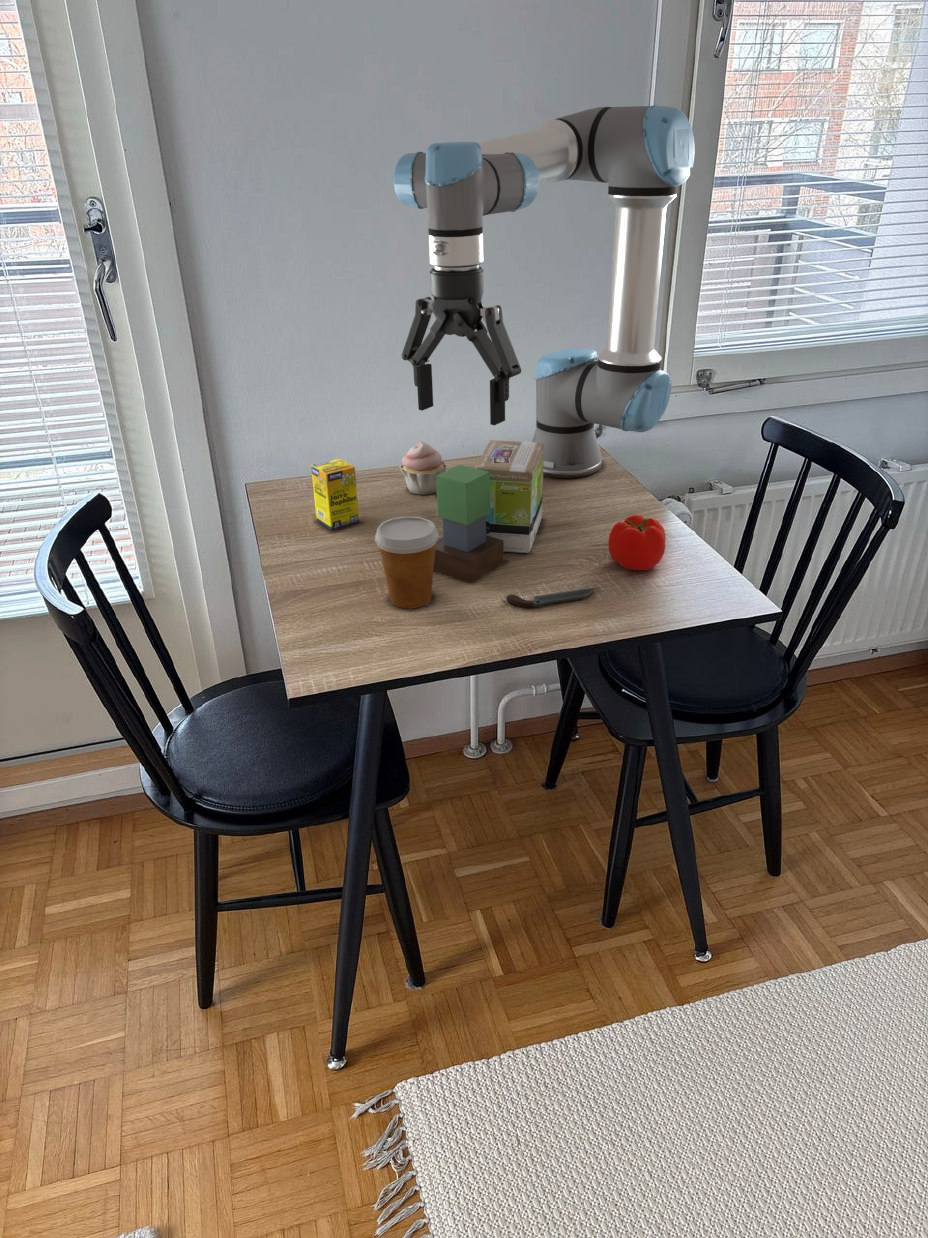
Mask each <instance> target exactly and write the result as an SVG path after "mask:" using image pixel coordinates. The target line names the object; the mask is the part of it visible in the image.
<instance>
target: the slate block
mask: <svg viewBox="0 0 928 1238" xmlns="http://www.w3.org/2000/svg"><path fill="white" fill-rule="evenodd" d="M441 520H442V538H443V541H444V545H445V546H448V547H452V548H455V549H458V550H462V551H465V552H470V551H471V550H473V549H475V548H476V547H478V546H480V545H481V544H483V543H485V542H486V515H485V516H483V517H482V518H480V519H478V520H476V521H475V522H473V523H471V524H469V525H465V524H461V523H458V522H454V521H450V520H447V519H443V518H441Z"/></svg>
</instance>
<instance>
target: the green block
mask: <svg viewBox="0 0 928 1238" xmlns="http://www.w3.org/2000/svg"><path fill="white" fill-rule="evenodd" d="M436 486H437V492H436V504H437V518H441V519H442V518H443V519H447V520H450V521H454V522H458V523H461V524H465V525H469V524H471V523H473V522H475V521H476V520H478V519H480V518H482V517H483V516H485V515H487V514H489V513H490V479H489V472H488V471H484V470H480V469H476V468H475V467H471V466H467V465H464V464H457V465H455V466H453V467H451V468H449V469H447V470H445V472H443V473H441V474H439V475H437V476H436ZM443 519H442V520H443Z"/></svg>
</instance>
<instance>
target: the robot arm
mask: <svg viewBox="0 0 928 1238" xmlns="http://www.w3.org/2000/svg"><path fill="white" fill-rule="evenodd" d="M695 148H696V147H695V137H694V131H693V128H692V125H691V123H690V121H689V119H688V117H687V115H686V113H684V112H683V110H681V109H679V108H677V107H674V106H667V105H666V106H665V105H658V104H653V105H638V106H637V105H635V106H634V105H633V106H598V107H593V108H588V109H585V110H582V111H577V112H574V113H571V114H567V115H564V116H561V117H557V118H554V119H553V118H552V119H549V120H546V121H544V122H543V123H541V124H540V125H539V126H538V127H537V128H536V129H533V130H530V131H529V130H528V131H525V132H519V133H515V134H511V135H507V136H502V137H497V138H493V139H489V140H484V141H478V142H476V141H449V142H447V141H446V142H434V143H432V144H430V145H428V147H427V148H426V151H425V152H423V151H416V152H408V153H406V154H403V155H402V156H401V157H400V158H398V160H397V162H396V164H395V165H394V169H393V175H392V181H393V190H394V193H395V195H396V197H397V199H398V200H399V201H400V203H402V204H403V205H404V206H407V207H412V208H417V209H419V210H424V209H427V210H426V211H427V224H428V226H427V227H428V229H427V230H428V232H427V233H428V252H429V253H428V254H429V255H428V257H429V264H430V265H431V266H433V267H432V268H431V270H430V271H429V281H430V283H429V284H430V294H431V296H432V297H433V299H432V298H431V297H430V296H426V297H422V298H418V299H416V300H415V303H414V304H415V307H414V317H413V320H412V322H411V325H410V328H409V332H408V335H407V338H406V340H405V343H404V346H403V348H402V352H401V359H402V360H403V361H408V362H409V363H410V364H411V365H412V369H413V384H414V387H417V404H418V405H417V406H418V407H417V408H418V411H421V412H422V411H425V410H427V409H429V408H432V407H434V393H433V392H434V389H433V387H434V385H433V365H432V363H429V362H430V360H429V359H430V358H431V356H432V355H433V353H434V352H435V350H436V348H437V347H438V346H439V344H440V343H441V341H442V340H443V338H444V337H445V335H447V336H452V335H454V336H457V337H461V338H464V337H466V339H467V340H468V341H469V342H470V343H472V345H473V346H474V348H475V349H476V351H477V352H478V354H479V356H480V357H481V359H482V360H483V362H484V364H485V365H486V367H487V368H488V370H489V371H490V373H491V375H492V376H493V378H492V379H490V380H489V419H490V422H489V423H490V425H491V426H496V425H499V424H501V423H503V422H505V421H506V402H507V401H509V399H510V378H513V377H515V376H518V375H520V374H521V373H522V367H521V364H520V362H519V359H518V357H517V354H516V352H515V349H514V346H513V344H512V342H511V339H510V335H509V334H508V333H509V332H508V330H507V328H506V326H505V323H504V317H503V308H502V306H501V305H500V304H496V305H493V306H484V305H483V295H484V292H485V283H484V282H485V280H484V279H485V278H484V276H485V275H484V273H485V272H484V268H483V267H482V266H480V265H482V264H483V262H484V261H485V259H484V232H483V231H484V229H483V228H484V227H483V226H484V224H483V218H484V216H490V215H495V214H503V213H515V212H516V211H519V210H522V209H525V208H528V207H529V206H530V205H531V204H532V203H534V201H535V199H536V198H537V196H538V193H539V190H540V183H541V182H540V181H541V180H546V181H548V182H552V183H559V182H562V181H563V182H564V181H582V182H583V181H584V182H592V183H602V184H603V183H605V184H606V183H607V187H608V188H607V197H608V198H609V199H610V200H611V202H612V203H613V204H614V206H615V216H614V230H613V245H612V262H611V277H610V291H609V308H608V322H607V339H606V347H605V349H604V350H602V351H601V352H600V353H599V354H598V352H597V350H595V349H592V348H569V349H562V350H561V349H560V350H557V351H552V352H549V353H547V354H544V355H543V356H541V357H540V358H539V359H538V362H537V364H536V375H535V376H536V377H535V389H536V390H535V392H536V394H535V396H536V397H535V399H536V400H535V405H536V406H535V408H536V409H535V415H536V417H535V421H536V422H535V431H534V434H533V438H532V440H531V442H536V443H543V444H544V462H543V477H547V478H556V479H573V478H581V477H587V476H589V475H593V474H595V473H596V472H598V471H600V469H601V468H602V461H603V458H602V453H601V450H600V445H599V441H598V437H600V436H601V435H602V434H603V431H604V428H603V426H605V427H609V428H614V429H618V430H621V431H623V432H635V433H645V432H648V431H650V430H652V429H653V428H654V427H655V426H656V425H657V424H658V423H659V422H660V420H661V419H662V417H663V415H664V414H665V412H666V410H667V407H668V405H669V402H670V398H671V394H672V380H671V375H670V374H669V373H668V372H666V371H664V370H661V367H662V366H661V365H662V356H661V355H660V354H659V353H658V351H656V349H655V342H656V341H655V340H656V330H657V317H658V306H659V296H660V295H659V294H660V285H661V273H662V261H663V250H664V239H665V228H666V216H667V215H666V214H667V208H668V205H669V204H671V202H673V200H674V199H675V198H676V197H677V193H678V186H681V185H683V184H684V183H686V182H687V180H688V179H689V177H690V176H691V170H692V169H693V167H694V161H695V153H696V150H695ZM432 314H433V315H434V317H435V320H434V322H433V323H432V325H431V326H430V328H429V331H428V333H427V335H426V332H427V329H428V326H429V323H430V321H431V318H432ZM484 323H485V324H484ZM485 325H486V326H485ZM425 336H426V337H425ZM595 425H598V428H599V430H598V432H596V431H595Z"/></svg>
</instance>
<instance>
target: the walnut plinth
mask: <svg viewBox="0 0 928 1238" xmlns="http://www.w3.org/2000/svg"><path fill="white" fill-rule="evenodd" d="M504 553H505V551H504V544H503V540H501V539H497V538H494V537H490V536H487V535H486V542H485V543H483V544H481V545H480V546H478V547H476V548H475V549H473V550H471V551H470V552H465V551H462V550H458V549H455V548H452V547H448V546H445V545H444V541H443V537H441V538H438V539H437V542H436V545H435V557H434V570H433V572H437V573H439V574H442V575H446V576H449V577H453V578H455V579H458V580H462V581H464V582H468V583H471V584H472V583H474V582H475V581H476V580H478V579H479V578H481V577H482V576H484V575H486V574H488V573H489V572H490V571H492V570H494V569H495V568H497V567H499V566H500V565H501V564H503V563H505V562H504V561H505V559H504V558H505V557H504V556H505V555H504Z"/></svg>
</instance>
